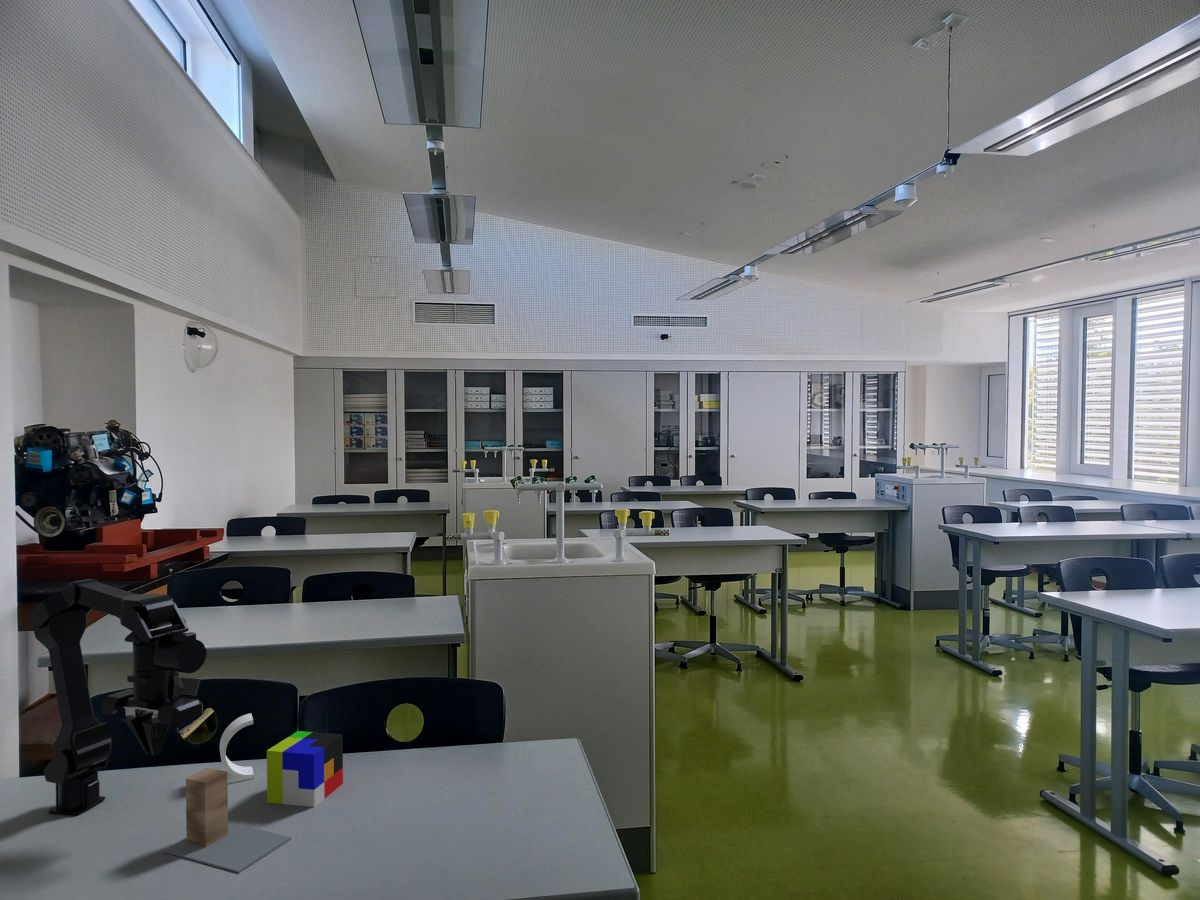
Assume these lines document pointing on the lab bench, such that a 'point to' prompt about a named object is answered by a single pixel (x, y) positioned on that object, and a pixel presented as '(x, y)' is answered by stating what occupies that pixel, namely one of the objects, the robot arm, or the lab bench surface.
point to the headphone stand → (233, 771)
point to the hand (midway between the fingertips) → (152, 753)
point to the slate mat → (231, 848)
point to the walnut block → (206, 807)
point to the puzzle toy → (304, 768)
